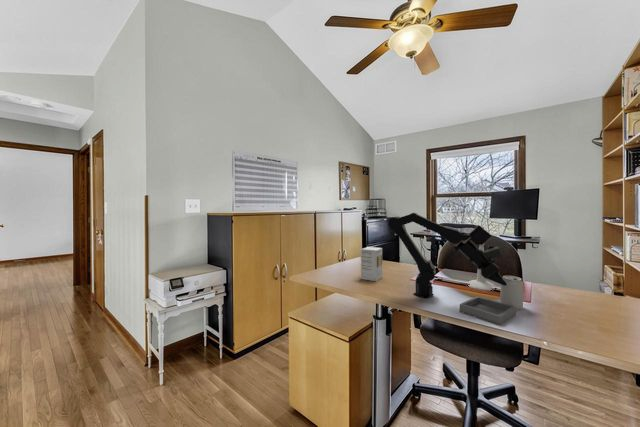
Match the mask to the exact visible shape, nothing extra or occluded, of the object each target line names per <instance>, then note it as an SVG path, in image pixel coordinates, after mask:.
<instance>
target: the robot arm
mask: <svg viewBox="0 0 640 427" xmlns="http://www.w3.org/2000/svg"><path fill="white" fill-rule="evenodd" d="M387 222H388V223H387V225H388V227H389V229H390V230H391V231H392V232H393V233H395V235H396V236H398V238H400V241H401V242H402V243H403V245H404V246H405V248H406V249H407V250H408V253H409V254H410V256H411V257H412V258H413V260H414V262H415V264H416V266H417V269H418V271H419V272H418V274H417V276H416V277H415V292H413V295H414V296H416V297H417V296H418V297H420V298H424V299H428V298H431V297H434V293H433V292H434V290H433V286H432V285H433V283H432V282H431V281H433V280H434V279H435V276H436V272H437V271H436V266H435V265H434V263H433V262H432V260H431V259H429V260H427V259H426V258H425V257H424V256H423V254H422V252H421V251H420V250H419V248H418V247H417V245H416V243H415V242H414V241H413V239H412V237H411V236H410V234H409V233H408V231H407V228H406V224H407V225H408V224H410V223H415V224H417V225H418V226H419V225H420V226H421V227H423V228H425V229H427V230H430V231H432V232H434V233H435V234H438V235H440V236H441V237H442V238H443V239H444V240H446V241H447V242H449V243H450V244H452V245H453V244H454V245H453V252H454V253H457V252H458V251H460V253H462V254H463V255H464V256H465V257H466V258H467V259H468V260H469V262H470V263H473V265H475V266H476V268H477V270H478V269H479V270H480V273H481V275H482V276H483V277H484V278H485V280H486V279H487V280H488V281H489V280H490V281H491V282H495V283H497V284H500V286H501V285H504V286H505V285H507V284H506V282H505V281H504V280H503V276H502V274H500V269H499V267H498V265H496V264H495V261H494V259H495V258H498V257H502V256H504V255H503V252H502V251H501V249H500V247H499V246H494V245H492V244H490V245H488V246H487V249H486V250H484V251H482V250H480V249H479V247H477V246H479V245H481V246H482V245H483V244H484V243H486V242H488V241H489V240H491V239H492V237H493V235H492V234H491V233H489V232H488V231H487V230H486V229H485V228H484V229H483V228H482V227H483V226H480V224H478V225H477V226H476V227H474V229H472V231H470V232H463V231H460V230H459V229H457V228H453V227H449V226H444V225H443V224H439V223H437V222H435V221H434V220H431V219H428V218H426V217H424V216H421V215H420V214H418V213H417V212H411V213H410V214H407V215H406V214H405V215H404V216H401V217H400V216H393V217H391V218H390V219H389V220H388V221H387ZM471 241H472V242H471ZM455 244H456V245H455ZM484 245H485V244H484Z"/></svg>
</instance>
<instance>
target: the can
mask: <svg viewBox="0 0 640 427" xmlns="http://www.w3.org/2000/svg"><path fill="white" fill-rule="evenodd" d="M502 277H503V280H504V281H505V282H506V284H507V285H505V286H504V285H501V284H500V290H499V291H500V293H499V294H500V295H499V297H500V300H499V302H500V303H504V304H508V305H512V306H515V307H516V311H517V310H518V311H519V310H520V309H522V308H524V282H523V281H522V278H521V277H518V276H515V275H503V276H502Z"/></svg>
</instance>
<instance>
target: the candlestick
mask: <svg viewBox="0 0 640 427" xmlns="http://www.w3.org/2000/svg"><path fill="white" fill-rule="evenodd" d="M481 227H482V228H483V229H484V230H485V227H484V226H481ZM485 243H486V242H485ZM485 243H484V244H483V245H482V246H481V245H478V246H479V247H478V249H480V250H482V251H485V247H484V245H485ZM469 283H470V285H468V286H469V287H468V286H467V287H468V288H471V289H473V290H478V291H485V292H487V291H491V290H492V289H491V288H492V287H493V286H494V285H495V284H494V283H492V282H489V280H486V278H484V277H483V276H482V275H481V273H480V270H479V269H478V268H477V272H476V279H472V280H469ZM492 291H493V290H492ZM492 291H491V292H492Z"/></svg>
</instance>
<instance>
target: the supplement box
mask: <svg viewBox="0 0 640 427" xmlns="http://www.w3.org/2000/svg"><path fill="white" fill-rule="evenodd" d="M382 278H383V248H382V247H375V246H366V247H363V248H361V249H360V279H361V280H366V281H371V282H378V281H379V280H380V279H382Z"/></svg>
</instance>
